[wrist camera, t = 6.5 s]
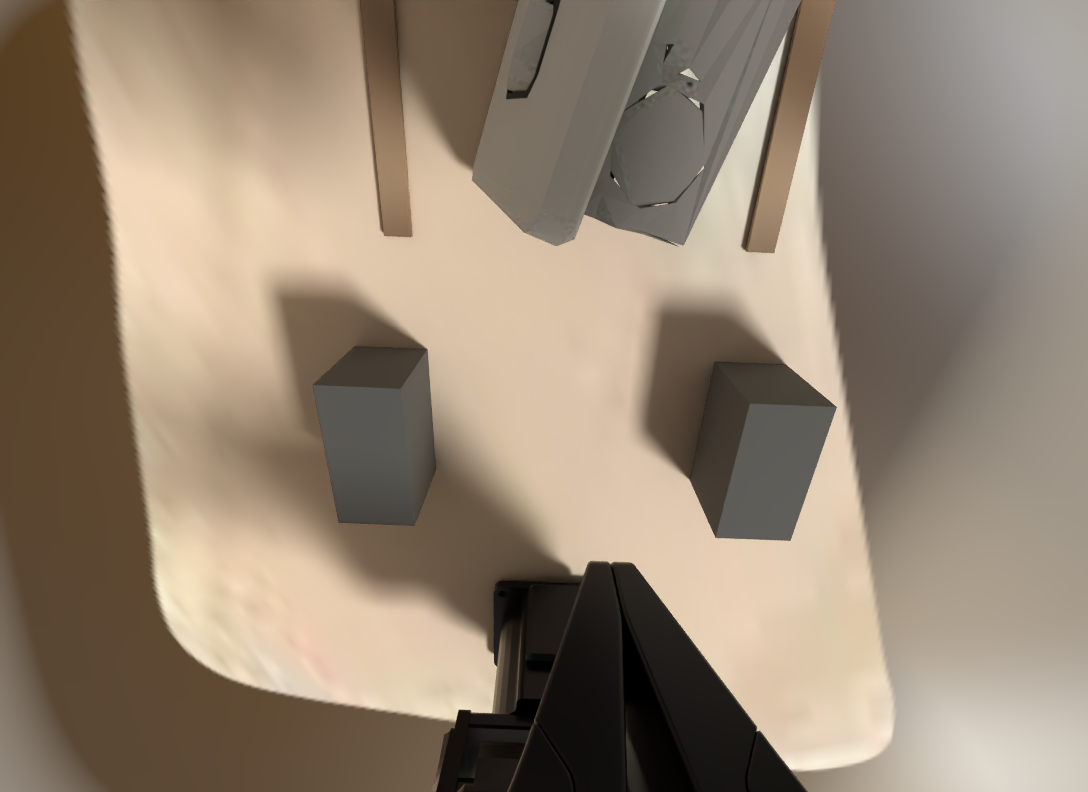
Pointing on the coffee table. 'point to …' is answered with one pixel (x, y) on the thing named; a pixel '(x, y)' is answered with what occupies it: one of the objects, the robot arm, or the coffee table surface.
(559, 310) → the coffee table surface
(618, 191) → the electrical switch
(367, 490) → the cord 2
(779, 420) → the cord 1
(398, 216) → the bay
